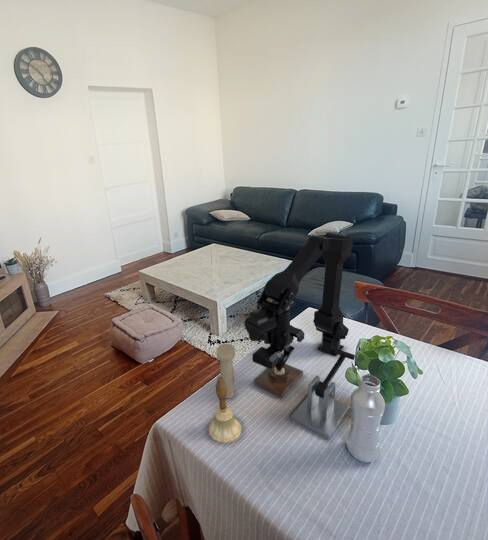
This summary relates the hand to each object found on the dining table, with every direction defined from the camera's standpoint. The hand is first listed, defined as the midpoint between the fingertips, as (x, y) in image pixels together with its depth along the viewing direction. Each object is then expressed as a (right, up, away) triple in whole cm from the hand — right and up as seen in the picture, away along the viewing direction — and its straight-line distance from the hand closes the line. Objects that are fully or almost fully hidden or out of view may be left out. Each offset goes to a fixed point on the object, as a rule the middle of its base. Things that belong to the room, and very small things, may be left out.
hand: (279, 370), depth 98 cm
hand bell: (-17, -11, -14) cm, 24 cm away
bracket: (+8, -8, -12) cm, 16 cm away
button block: (0, -4, +1) cm, 4 cm away
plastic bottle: (+13, -12, -23) cm, 29 cm away
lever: (+12, +2, -10) cm, 16 cm away
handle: (-15, -7, -3) cm, 17 cm away
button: (0, -2, +1) cm, 2 cm away
